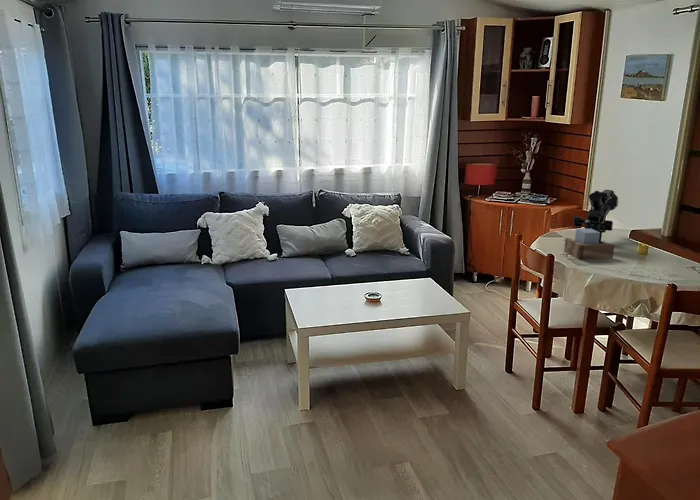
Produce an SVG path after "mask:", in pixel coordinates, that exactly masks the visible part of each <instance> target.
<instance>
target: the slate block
mask: <svg viewBox="0 0 700 500" xmlns="http://www.w3.org/2000/svg"><path fill="white" fill-rule="evenodd" d="M575 229H576V230H575V235H574V236H575V237H574V241H576V242H578V243H580V244H600V243H599V237H600V232H598V231H595V230H593V229H585V228H575Z"/></svg>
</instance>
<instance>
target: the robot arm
mask: <svg viewBox="0 0 700 500" xmlns="http://www.w3.org/2000/svg"><path fill="white" fill-rule="evenodd" d="M588 199H589V205H590V209H588V213H587V216H586V217H587V218H586V219H583V217H582V216H574V217H573V220H572V221H573V227H582V226H583V225H584V229H593V230H595V231H598V232H600V237H599V243H598V244H604V241H602V237H603V236H602V235H603V233H606V232H607V231H609V232H610V231H613V227H614V222H613V220H610V219H609V220H608V219H607V220H606V218H607V216H608V215H609V213H610V212H611V211H614V210H615V209H616V208H617V207H618V204H619V197H618V196H617V195H616V194H615V191H614V190H612V189H604V190H603V191H599V190H594V192H592V193H590V194H589V195H588Z"/></svg>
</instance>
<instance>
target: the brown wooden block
mask: <svg viewBox="0 0 700 500" xmlns="http://www.w3.org/2000/svg"><path fill="white" fill-rule="evenodd" d="M614 251H615V244H614V243H598V244H580V243H578V242H576V241H575V239H572V238H570V237H566V238H565V240H564V248H563V252H565V253H566V254H567V255H570V256H572V257H573V258H576V259H577V260H597V259H599V260H600V259H601V260H602V259H613V257H614Z"/></svg>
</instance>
